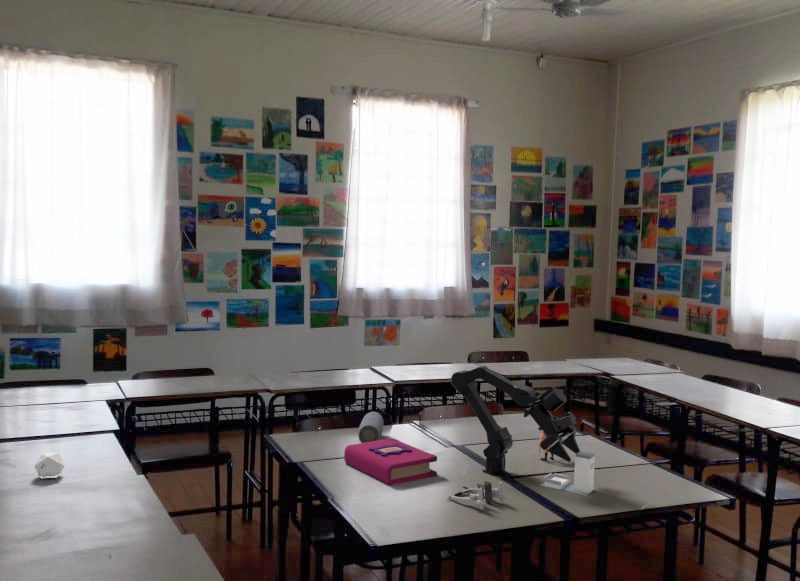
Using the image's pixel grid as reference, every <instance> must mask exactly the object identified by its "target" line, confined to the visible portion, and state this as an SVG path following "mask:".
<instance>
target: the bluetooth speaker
mask: <svg viewBox="0 0 800 581" xmlns="http://www.w3.org/2000/svg"><path fill="white" fill-rule="evenodd" d="M384 424H385V423H384V418H383V416H382V415H381V414H380V413H379V412H376V411H370V412H367V413H366V414H365V415H364V416H363V418H362V420H361V423H360V424H359V427H358V432H357V436H358V440H359V442H360V443H366V442H372V441H378V440H381V437H382V435H383V432H384Z"/></svg>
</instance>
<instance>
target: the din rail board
mask: <svg viewBox="0 0 800 581" xmlns="http://www.w3.org/2000/svg"><path fill="white" fill-rule="evenodd" d="M570 479H571V478H570V475H566V474H561V473H556V472H555V473H552V472H550V473H548V474H546V475H545V476H543V477H542V481H543V483H541V484H540V486H541V487H546V488H550V489H555V490H559V491H560V490H561V491H564V492H569V493H574V494H579V495H583V496H585V497H586V496H588V495H589V494H591V493H592V492H594V490H596V489H597V487H593V490H592V491H591V492H590V493H584V492H580V491H575V490H574V482H571V480H570Z"/></svg>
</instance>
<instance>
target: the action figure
mask: <svg viewBox="0 0 800 581" xmlns="http://www.w3.org/2000/svg"><path fill="white" fill-rule="evenodd" d="M539 437H540V438H539V443H538V449H537V451H538V453H539V454H542V451H541V449H542V448H541V446H540V444H541V442H542V441H543V440H544V439H545V438H546V437H547V436H546V434H545V433H544V432H543V431H542V433H541V435H540V436H539ZM547 450H548V449H546V450H545V451H544V457H540V461H548V455H549V452H547ZM550 455H551V456H550V457H549V459H551V460H552V461H554V459H555V458H554V454H552V453H550Z"/></svg>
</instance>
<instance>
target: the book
mask: <svg viewBox="0 0 800 581" xmlns="http://www.w3.org/2000/svg"><path fill="white" fill-rule="evenodd" d="M343 454H344V455H343V456H344V457H343V458H344V460H343V461H344V462H345V464H347V465H350V466H351V467H354V468H355V469H357V470H359V471H361V472H363V473H365V474H367V475H370V476H372V477H374V478H375V479H377V480H379V481H381V482H383V483H385V484H387V485H390V486H394V485H397V484H402V483H407V482H408V481H409V482H414V481H417V480H418V479H419V480H423V479H429V478H432V477H436V476H437V474H438V472H437V471H436V470H433V469H432V468H430V463H434V462H437V461H438V455H435V454H433V453H429V452H427V451H424V450H422V449H420V448H416V447H414V446H412V445H410V444H407V443H406V442H405V443H404V442H403V441H400V440H398V439H396V438H391V437H390V438H389V437H388V438H384V439H379V440H378V441H372V442H366V443H361V442H360V443H353V444H349V445H347V446H346V447H345V448H344V452H343ZM413 480H414V481H413Z"/></svg>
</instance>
